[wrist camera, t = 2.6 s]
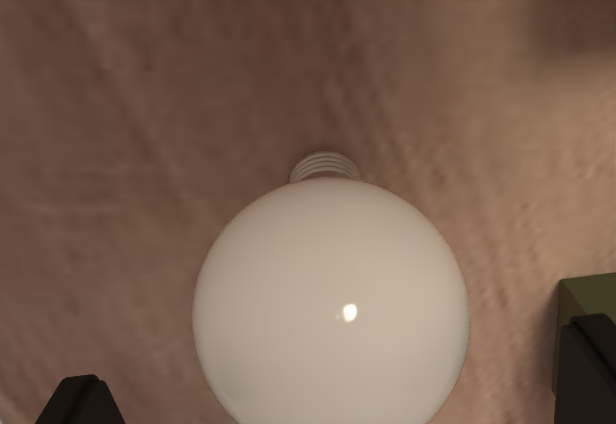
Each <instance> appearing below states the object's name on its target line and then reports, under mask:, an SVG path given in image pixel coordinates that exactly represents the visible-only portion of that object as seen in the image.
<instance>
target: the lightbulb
mask: <svg viewBox="0 0 616 424" xmlns="http://www.w3.org/2000/svg"><path fill="white" fill-rule="evenodd" d="M470 329H471V315H470V303H469V297H468V291H467V287H466V283H465V280H464V276H463V273H462V271H461V268H460V265H459V263H458V261H457V259H456V257H455V255H454V253H453V251H452V249H451V247H450V246H449V244H448V242H447V241H446V239H445V238H444V237H443V235H442V234H441V232H440V231H439V230H438V229H437V227H436V226H435V225H434V224H433V223H432V222H431V221H430V220H429V219H428V218H427V217H426V216H425V215H424V214H423V213H422V212H421V211H420V210H418V209H417V208H416V207H415V206H413V205H412V204H411V203H409V202H408V201H406V200H405V199H403V198H402V197H400V196H398V195H396V194H395V193H393V192H391V191H389V190H386V189H384V188H382V187H379V186H377V185H374V184H371V183H367V182H364V181H362V178H361V174H360V172H359V170H358V168H357V166H356V165H355V163H354V162H353V161H352V160H350V159H349V158H348V157H346V156H345V155H343V154H340V153H338V152H334V151H317V152H314V153H311V154H309V155H307V156H305V157H303V158H302V159H301V160H300V161H299V162H298V163H297V164H296V165H295V166H294V168H293V169H292V171H291V174H290V177H289V184H286V185H284V186H281V187H278V188H276V189H274V190H272V191H270V192H268V193H266V194H264V195H262V196H260V197H259V198H257V199H256V200H254V201H253V202H251V203H250V204H248V205H247V206H246V207H245V208H243V209H242V210H241V211H240V212H239V213H238V214H237V215H235V216H234V217H233V219H232V220H231V221H230V222H229V223H228V224H227V225H226V226H225V227H224V229H223V230H222V231H221V233H220V234H219V235H218V237H217V238H216V240H215V241H214V243H213V244H212V246H211V248H210V250H209V252H208V253H207V255H206V258H205V260H204V262H203V264H202V267H201V270H200V273H199V276H198V279H197V283H196V287H195V292H194V297H193V305H192V331H193V339H194V345H195V350H196V355H197V358H198V362H199V365H200V368H201V370H202V373H203V375H204V378H205V380H206V382H207V384H208V386H209V388H210V390H211V391H212V393H213V395H214V396H215V398H216V399H217V401H218V402H219V404H220V405H221V406H222V408H223V409H224V410H225V411H226V412H227V414H228V415H229V416H230V417H231V418H232V419H233V420H234V421H235V422H236V423H237V424H428V423H429V422H430V421H431V420H432V419H433V417H434V416H435V415H436V414H437V413H438V412H439V411H440V409H441V408H442V407H443V405H444V404H445V402H446V401H447V399H448V398H449V396H450V395H451V393H452V391H453V389H454V387H455V386H456V384H457V381H458V379H459V377H460V374H461V372H462V369H463V366H464V363H465V360H466V356H467V351H468V346H469V340H470Z"/></svg>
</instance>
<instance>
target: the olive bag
mask: <svg viewBox="0 0 616 424" xmlns="http://www.w3.org/2000/svg"><path fill="white" fill-rule="evenodd" d="M597 313H604V314H606V315H607V316H608V317H610V319H611V320H612V321H613V322H614V323H615V325H616V273H610V274H602V275H594V276H586V277H578V278H570V279H562V280H561V285H560V297H559V310H558V322H557V334H556V346H555V358H554V370H553V383H552V391H553V393H554V395H555V397H556V387H557V373H558V359H559V345H560V331H561V327H562V326H563V325H569V320H570V318H571V317H573V316H580V315H589V314H597Z"/></svg>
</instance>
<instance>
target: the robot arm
mask: <svg viewBox="0 0 616 424" xmlns="http://www.w3.org/2000/svg"><path fill="white" fill-rule="evenodd" d="M35 424H125V422H124V419H123V417H122V415H121V413H120V411H119V409H118V407H117V405H116V403H115V401H114V399H113V397H112V395H111V392H110V390H109V388H108V386H107V384H106V383H105V382H104V381H103V380H99V379H98V377H97V376H95V375H94V374H90V375H82V376H74V377H66V378H65V379H63V380H62V381H61V382H60V384H59V385H58V387H57V389H56V390H55V392H54V393H53V395H52V397H51V398H50V400H49V401H48V403H47V405H46V406H45V408H44V410H43V411H42V413H41V414H40V416H39V418H38V419H37V421H36V422H35ZM554 424H616V325H615V323H614V322H613V321H612V320H611V319H610V317H608V316H607V315H606V314H604V313H597V314H589V315H580V316H573V317H571V318H570V320H569V325H563V326H562V327H561V331H560V345H559V359H558V373H557V387H556V401H555V415H554Z"/></svg>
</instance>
